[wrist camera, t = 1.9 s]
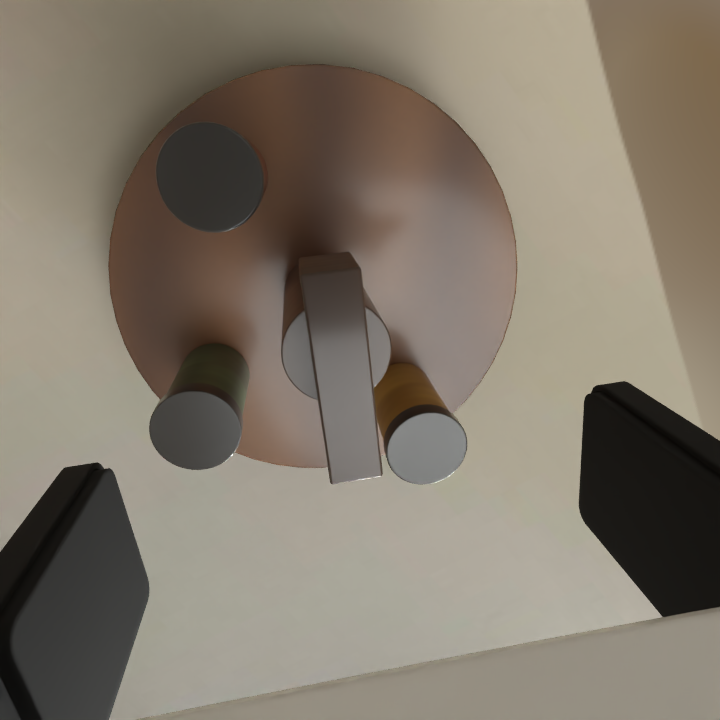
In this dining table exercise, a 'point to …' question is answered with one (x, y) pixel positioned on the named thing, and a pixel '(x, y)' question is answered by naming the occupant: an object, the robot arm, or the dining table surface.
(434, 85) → the dining table surface
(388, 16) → the dining table surface
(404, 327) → the rotating condiment caddy
